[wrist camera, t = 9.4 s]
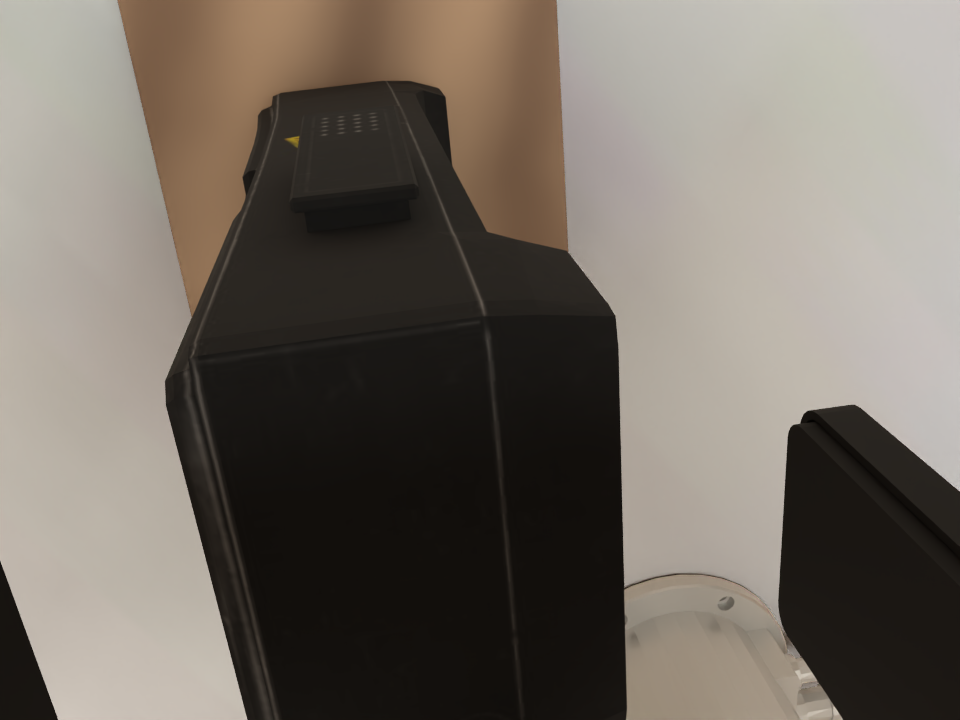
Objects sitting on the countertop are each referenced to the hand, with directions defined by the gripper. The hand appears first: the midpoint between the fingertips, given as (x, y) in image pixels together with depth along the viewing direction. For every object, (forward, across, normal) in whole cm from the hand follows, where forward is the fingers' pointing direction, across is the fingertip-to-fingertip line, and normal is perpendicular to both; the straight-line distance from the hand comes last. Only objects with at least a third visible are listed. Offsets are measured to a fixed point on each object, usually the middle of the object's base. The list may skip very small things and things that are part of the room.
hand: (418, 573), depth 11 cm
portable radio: (+23, 0, 0) cm, 23 cm away
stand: (+26, 0, -1) cm, 26 cm away
